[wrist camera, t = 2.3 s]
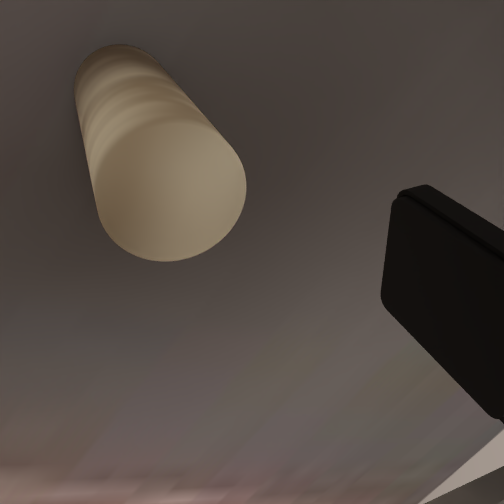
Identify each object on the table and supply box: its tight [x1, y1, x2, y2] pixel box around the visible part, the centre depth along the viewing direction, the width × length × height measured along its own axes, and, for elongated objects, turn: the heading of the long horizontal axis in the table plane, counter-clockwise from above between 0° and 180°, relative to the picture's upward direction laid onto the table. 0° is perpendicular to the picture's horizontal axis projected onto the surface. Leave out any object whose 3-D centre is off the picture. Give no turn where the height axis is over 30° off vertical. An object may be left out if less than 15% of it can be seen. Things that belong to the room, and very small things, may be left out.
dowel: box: [74, 44, 246, 261], centre depth 16 cm, size 4×4×10 cm
